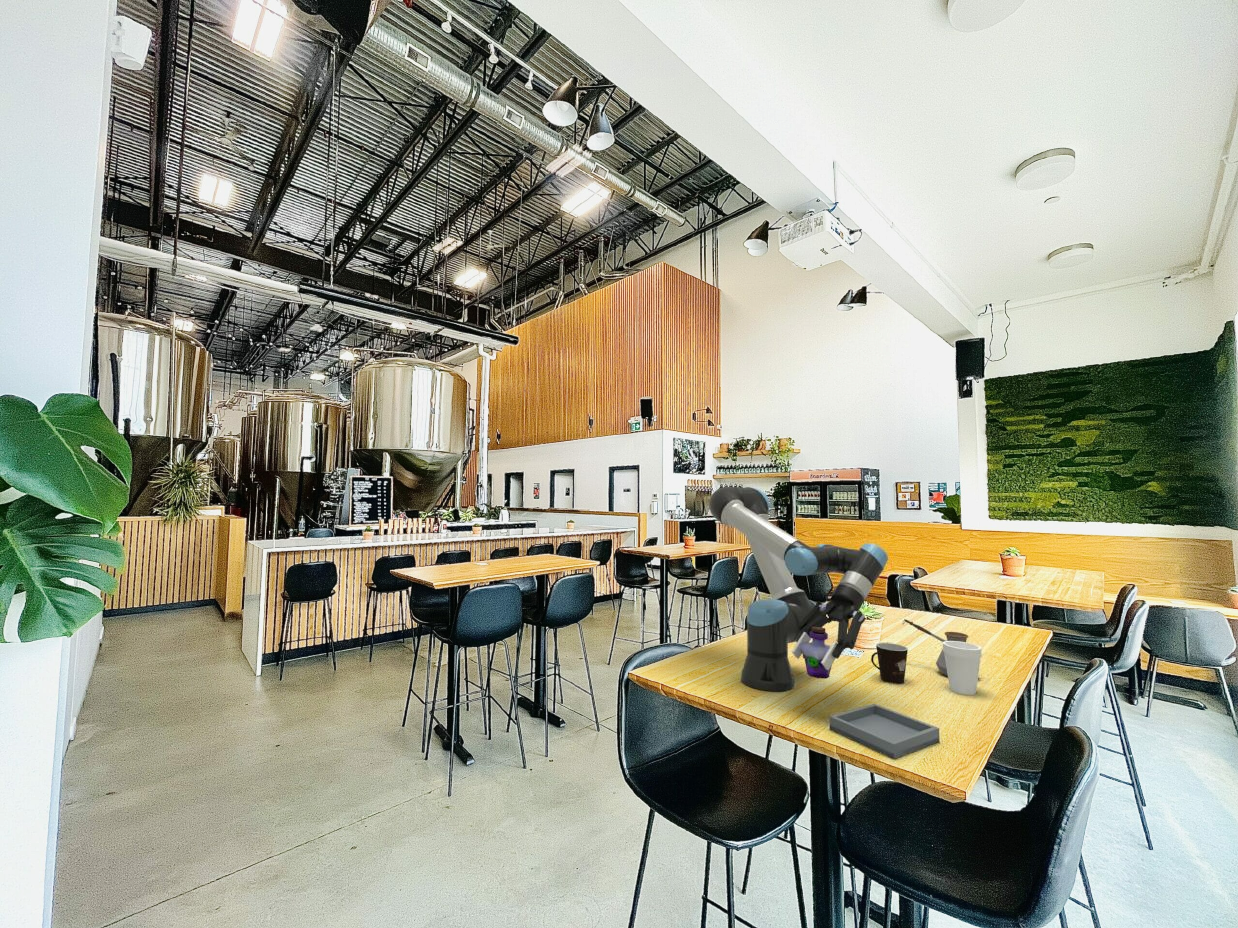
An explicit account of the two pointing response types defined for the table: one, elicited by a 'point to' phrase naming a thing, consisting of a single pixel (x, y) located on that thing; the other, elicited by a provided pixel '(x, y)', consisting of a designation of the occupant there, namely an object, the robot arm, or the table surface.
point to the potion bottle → (816, 653)
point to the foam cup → (962, 666)
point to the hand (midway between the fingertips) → (809, 660)
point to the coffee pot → (950, 637)
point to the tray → (884, 730)
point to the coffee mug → (891, 662)
